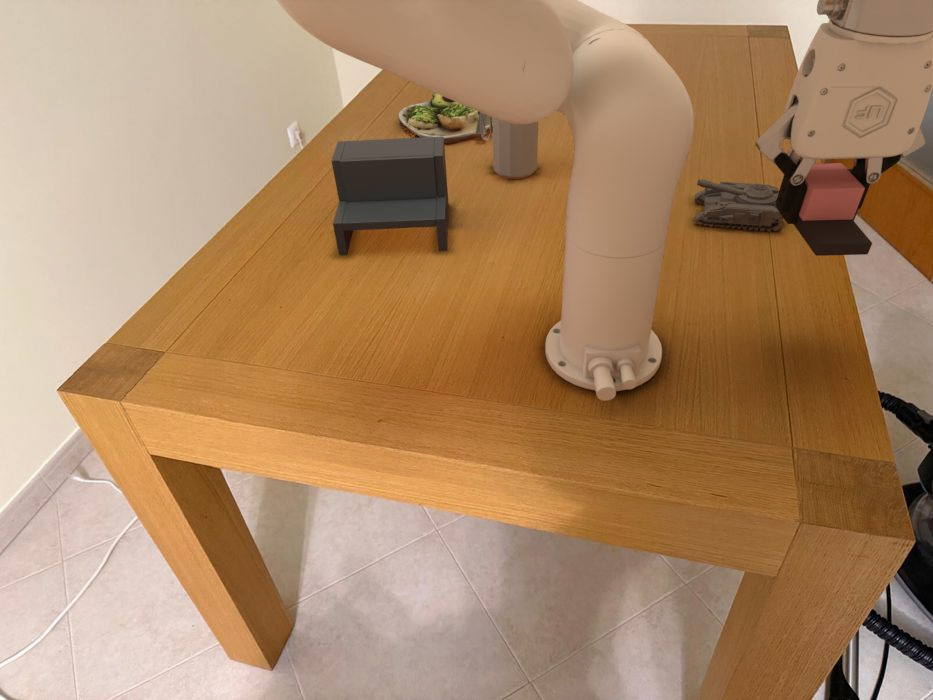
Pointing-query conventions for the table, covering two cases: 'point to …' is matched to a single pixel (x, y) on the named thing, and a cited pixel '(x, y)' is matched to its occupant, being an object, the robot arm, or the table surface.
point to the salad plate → (443, 119)
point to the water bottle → (513, 148)
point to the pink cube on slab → (832, 212)
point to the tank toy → (738, 205)
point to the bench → (390, 187)
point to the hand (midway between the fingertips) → (814, 214)
